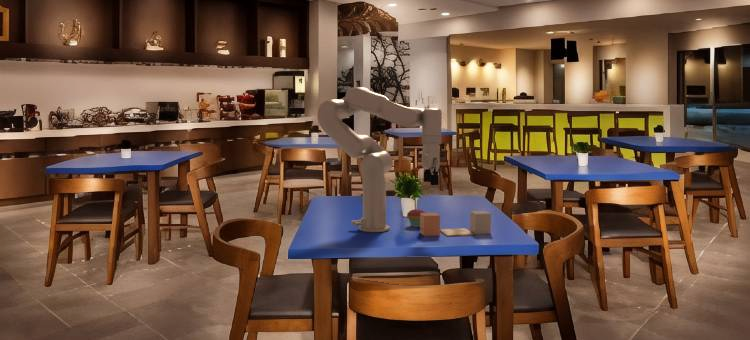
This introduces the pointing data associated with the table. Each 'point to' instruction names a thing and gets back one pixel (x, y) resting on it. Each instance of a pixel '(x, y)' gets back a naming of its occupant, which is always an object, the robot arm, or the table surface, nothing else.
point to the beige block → (480, 222)
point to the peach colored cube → (430, 224)
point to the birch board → (456, 232)
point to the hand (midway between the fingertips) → (430, 183)
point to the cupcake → (414, 216)
